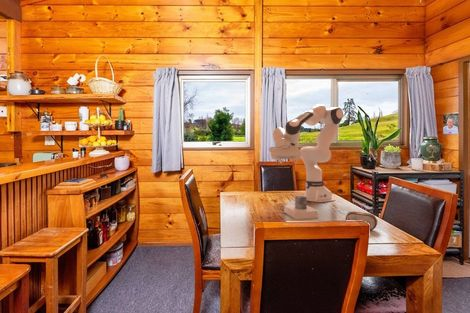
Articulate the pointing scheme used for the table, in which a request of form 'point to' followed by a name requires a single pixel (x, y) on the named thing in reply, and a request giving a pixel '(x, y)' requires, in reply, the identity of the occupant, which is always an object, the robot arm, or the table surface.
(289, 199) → the table surface
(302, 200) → the block
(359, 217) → the grey rounded slab
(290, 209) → the riser
